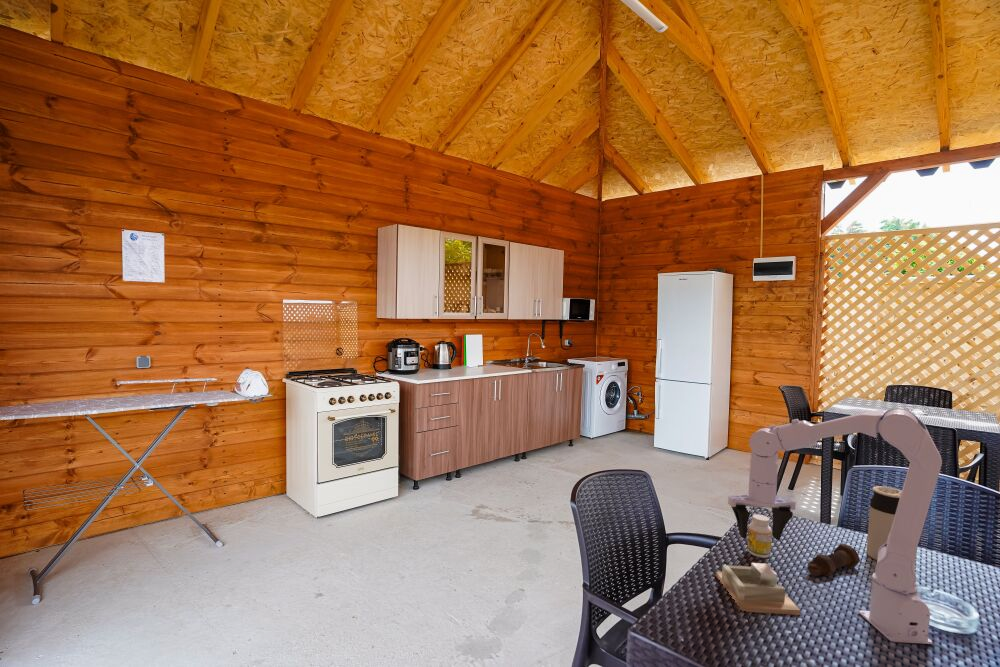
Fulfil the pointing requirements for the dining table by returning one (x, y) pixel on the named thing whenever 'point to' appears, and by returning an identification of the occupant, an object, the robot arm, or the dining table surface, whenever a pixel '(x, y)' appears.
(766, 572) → the link block
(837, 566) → the bolt
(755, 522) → the supplement bottle
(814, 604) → the dining table surface
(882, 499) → the travel mug
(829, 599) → the dining table surface
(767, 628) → the dining table surface
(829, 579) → the dining table surface
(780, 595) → the keeper cradle
